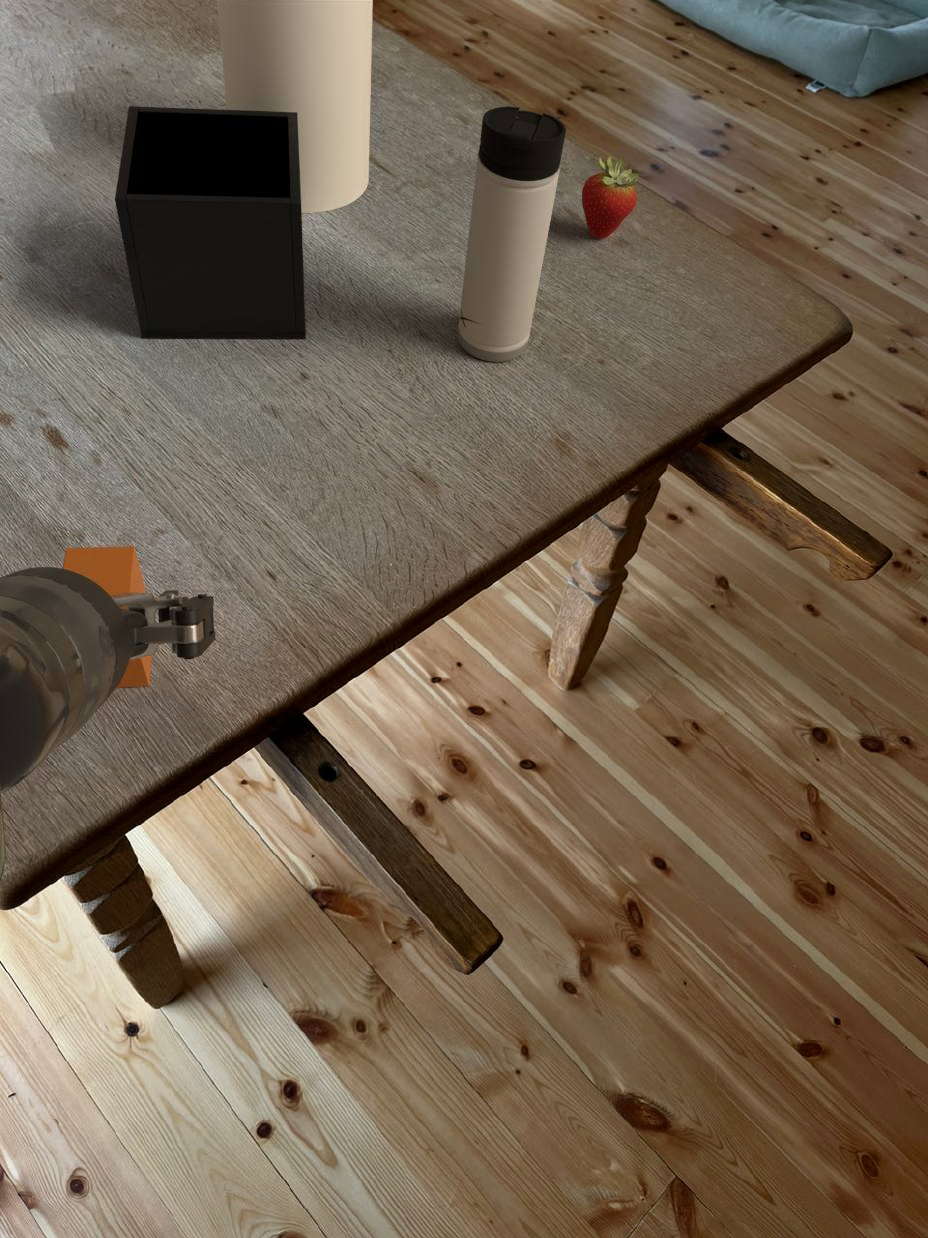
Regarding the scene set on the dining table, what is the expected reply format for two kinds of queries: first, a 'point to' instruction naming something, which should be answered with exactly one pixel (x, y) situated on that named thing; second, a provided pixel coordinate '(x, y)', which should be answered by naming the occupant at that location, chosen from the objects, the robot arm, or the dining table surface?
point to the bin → (213, 223)
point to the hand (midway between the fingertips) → (100, 609)
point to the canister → (307, 84)
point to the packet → (113, 589)
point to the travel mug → (508, 230)
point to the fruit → (608, 198)
